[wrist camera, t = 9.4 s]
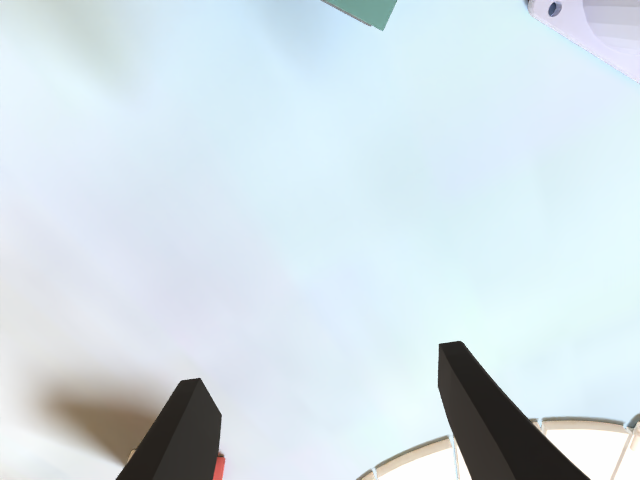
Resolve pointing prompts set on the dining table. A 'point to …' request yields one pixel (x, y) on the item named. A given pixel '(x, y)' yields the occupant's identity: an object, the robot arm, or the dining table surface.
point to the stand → (366, 10)
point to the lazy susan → (568, 436)
